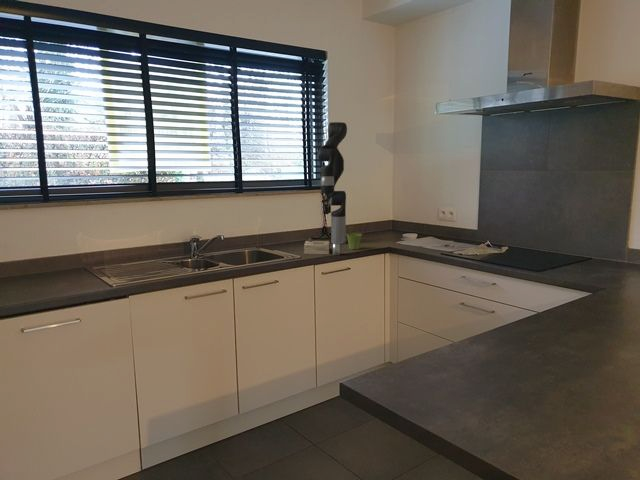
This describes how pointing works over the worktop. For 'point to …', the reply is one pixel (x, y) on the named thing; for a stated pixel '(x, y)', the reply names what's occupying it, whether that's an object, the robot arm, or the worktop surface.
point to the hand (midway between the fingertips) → (327, 213)
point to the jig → (316, 247)
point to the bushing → (336, 249)
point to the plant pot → (354, 240)
